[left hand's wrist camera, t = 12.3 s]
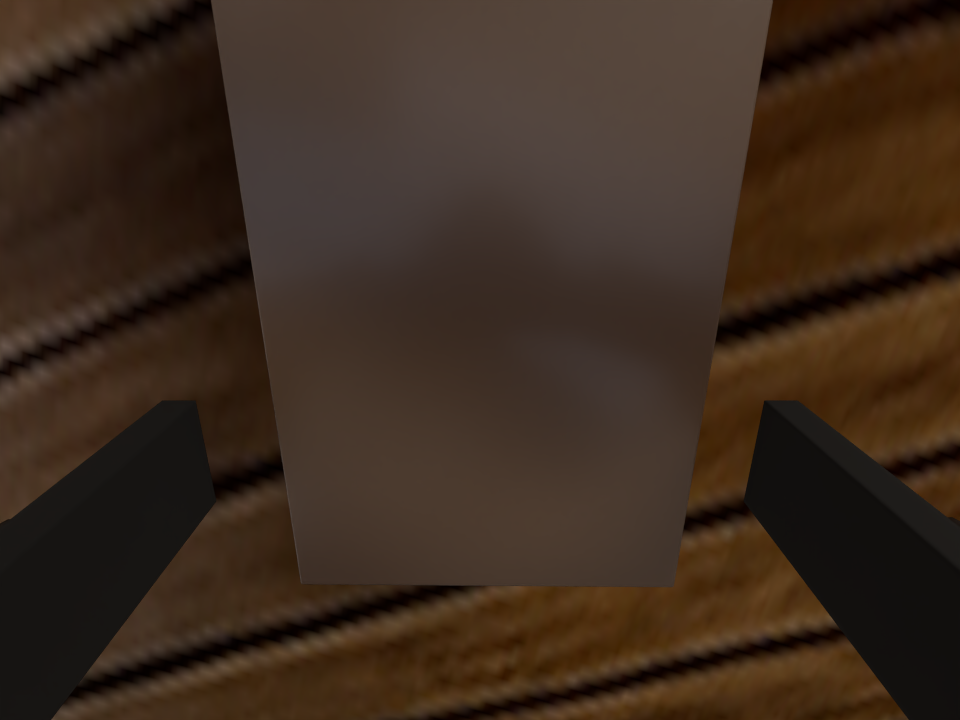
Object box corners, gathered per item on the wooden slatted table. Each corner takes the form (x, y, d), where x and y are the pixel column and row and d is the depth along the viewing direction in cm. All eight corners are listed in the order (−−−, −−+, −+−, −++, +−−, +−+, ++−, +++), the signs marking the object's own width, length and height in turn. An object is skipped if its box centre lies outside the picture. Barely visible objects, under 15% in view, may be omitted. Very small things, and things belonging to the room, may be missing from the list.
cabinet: (321, -105, 16) (153, -360, 8) (657, -107, 16) (836, -365, 8) (367, 426, 23) (300, 584, 15) (606, 428, 23) (673, 588, 15)
